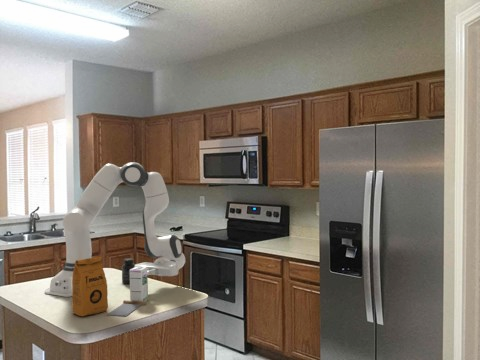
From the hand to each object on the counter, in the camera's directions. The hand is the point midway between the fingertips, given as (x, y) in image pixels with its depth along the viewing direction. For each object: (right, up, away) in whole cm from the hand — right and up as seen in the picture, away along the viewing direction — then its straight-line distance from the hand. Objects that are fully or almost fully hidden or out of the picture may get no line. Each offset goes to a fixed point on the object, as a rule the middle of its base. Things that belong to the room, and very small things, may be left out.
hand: (145, 273), depth 182 cm
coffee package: (-18, -12, -19) cm, 28 cm away
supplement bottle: (-14, -11, +25) cm, 30 cm away
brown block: (-3, -11, -8) cm, 14 cm away
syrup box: (-2, -11, -5) cm, 12 cm away
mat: (-5, -11, -16) cm, 20 cm away
